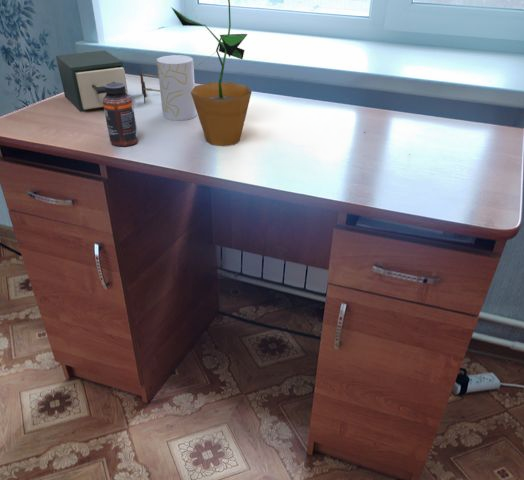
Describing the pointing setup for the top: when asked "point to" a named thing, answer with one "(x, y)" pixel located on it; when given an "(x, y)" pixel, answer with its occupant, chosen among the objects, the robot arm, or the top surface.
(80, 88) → the drawer
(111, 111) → the supplement bottle
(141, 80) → the sunglasses
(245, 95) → the potted plant
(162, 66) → the cup
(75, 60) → the cabinet
